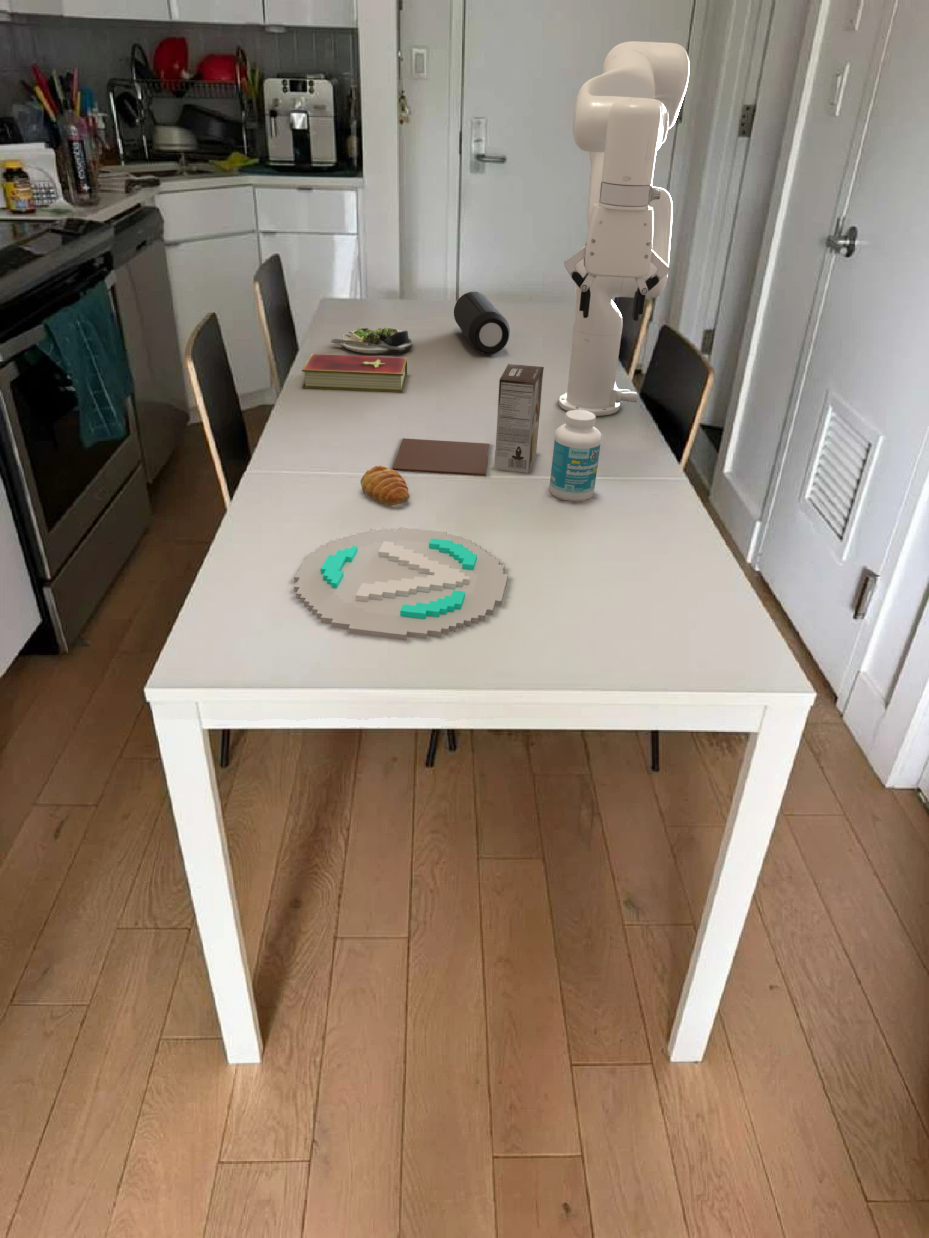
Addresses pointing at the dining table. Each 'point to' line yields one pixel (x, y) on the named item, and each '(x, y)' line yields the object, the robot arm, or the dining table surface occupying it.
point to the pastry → (385, 486)
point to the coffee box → (518, 417)
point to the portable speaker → (481, 323)
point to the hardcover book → (355, 373)
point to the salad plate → (376, 341)
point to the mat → (442, 457)
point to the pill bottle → (575, 457)
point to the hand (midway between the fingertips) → (610, 316)
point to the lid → (401, 583)
